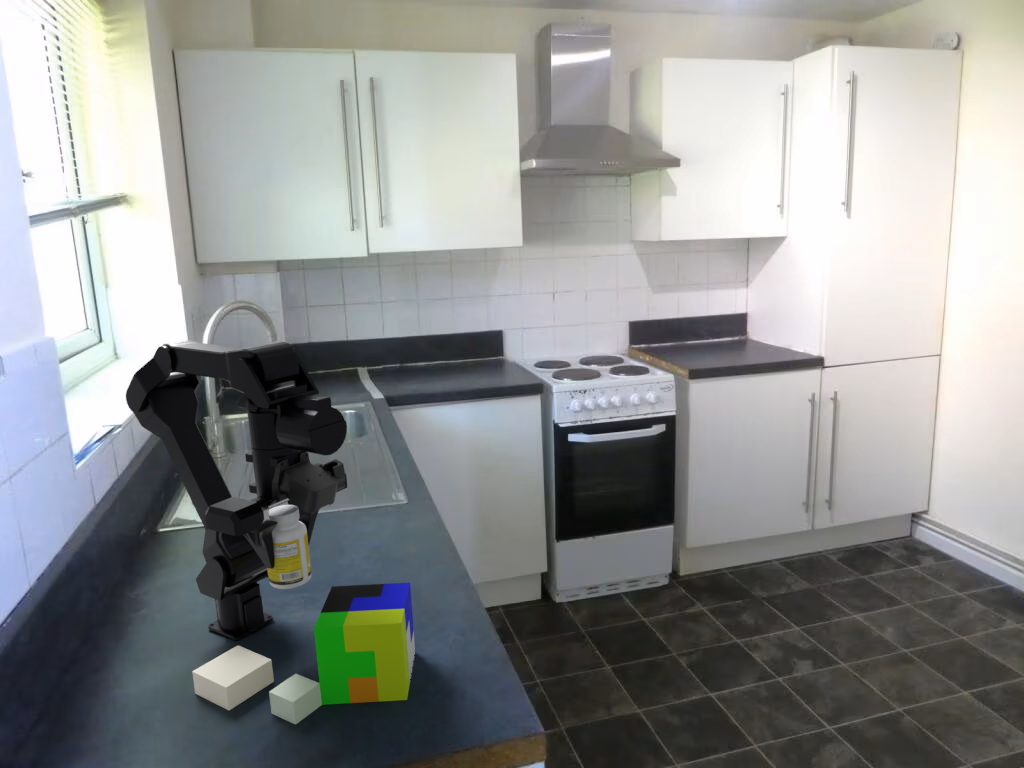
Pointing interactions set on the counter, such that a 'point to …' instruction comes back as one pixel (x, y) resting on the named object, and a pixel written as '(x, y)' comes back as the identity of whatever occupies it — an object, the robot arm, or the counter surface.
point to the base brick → (233, 677)
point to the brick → (295, 698)
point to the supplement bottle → (289, 549)
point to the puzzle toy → (365, 643)
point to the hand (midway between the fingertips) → (287, 558)
